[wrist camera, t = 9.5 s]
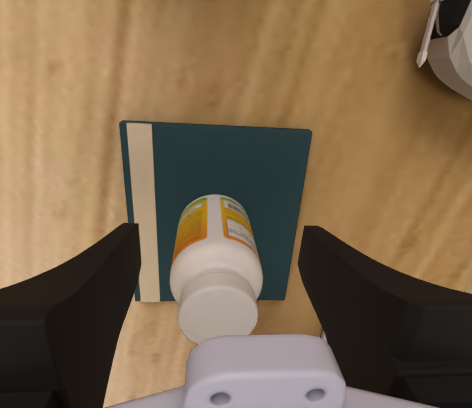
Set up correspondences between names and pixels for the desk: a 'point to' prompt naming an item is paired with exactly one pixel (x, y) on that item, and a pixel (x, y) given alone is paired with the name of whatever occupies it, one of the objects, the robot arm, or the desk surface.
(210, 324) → the supplement bottle
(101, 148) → the desk surface
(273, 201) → the teal notebook
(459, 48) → the robot toy
